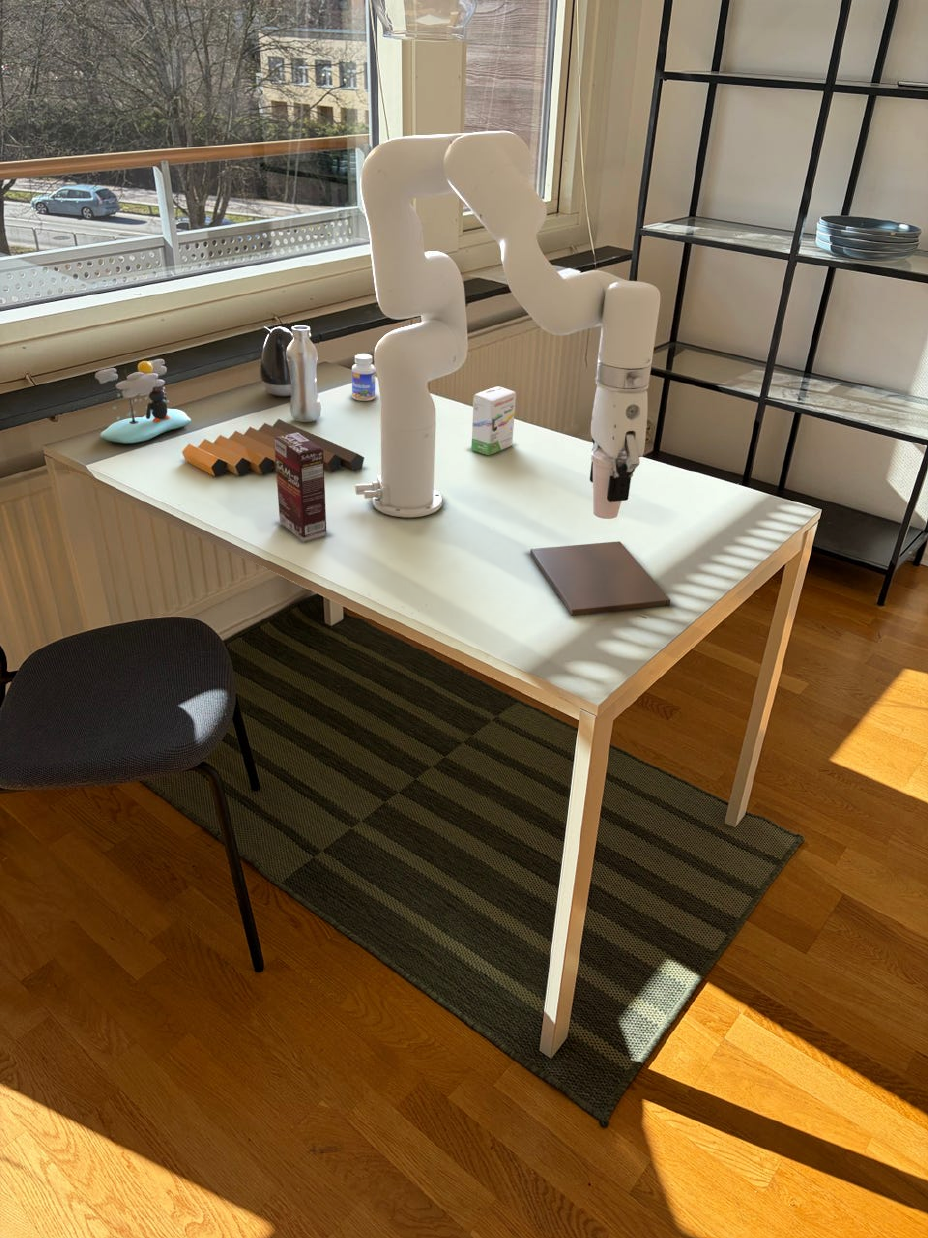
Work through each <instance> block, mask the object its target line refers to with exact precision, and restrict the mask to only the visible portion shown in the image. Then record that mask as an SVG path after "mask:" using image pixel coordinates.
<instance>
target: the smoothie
mask: <svg viewBox="0 0 928 1238" xmlns="http://www.w3.org/2000/svg"><path fill="white" fill-rule="evenodd" d="M590 455H591V456H590V462H591V463H592V462H593V483H592V506H593V507H592V511H593V515H594V516H595V517H597V518H600V519H606V520H610V519H615V518H617V517H618V515H619V510H620V506H621V503H622V501H616V502H609V501H608V500H607V494H608V487H609V479H610V476H612V475H613V470H612V457H611V456H610V455H608V454H607V453H606V452H605V451H604V450H603V449H602V448H597V449H595V450H593V451H592V450H591V454H590ZM618 455H619V456H620V455H626V451H620V452H619V454H618ZM625 463H626V459H624V460H619V467H620V466H621V465H622V464H625Z"/></svg>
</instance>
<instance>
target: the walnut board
mask: <svg viewBox="0 0 928 1238" xmlns="http://www.w3.org/2000/svg"><path fill="white" fill-rule="evenodd" d="M529 555H530V556H531V558H532V559H533V561H534V562H535V564H536V565H537V567H538V568H539V569H540V571H541V573H542V574H543V575H544V577H545V578H546V580H547V582H548V583H549V584H550V586H551V587H552V589H553V590H554V592H555V593H556V595H557V597H558V598H559V600H560V601H561V602H562V603H563V605H564V606H565V608H566V609H567V611H568V612H569V614H570V615H571V616H581V615H591V614H598V613H610V612H618V611H627V610H628V611H629V610H638V609H647V608H656V607H657V608H658V607H665V606H667V607H668V606H670V605H671V598H670V597H669V596H668V595H667V594H666V593H665V592H664V591H663V590H662V588H661V587H660V586H659V585H658V584H657V583H656V581H655V580H654V578H652V577H651V576H650V574H649V573H648V572H647V571H646V570H645V569H644V567H642V565H641V563H640V562H639V561H637V559H636V558H635V557H634V556H633V555H632V554H631V552H630V551H629V550H628V549H627V548H626V546H625V545H624V544H623V543H622V542H621V541H619V540H618V541H608V542H595V543H585V544H575V545H572V544H571V545H563V546H562V545H561V546H551V547H550V546H549V547H542V548H541V547H540V548H531V549H530V554H529Z"/></svg>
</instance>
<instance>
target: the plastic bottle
mask: <svg viewBox="0 0 928 1238" xmlns="http://www.w3.org/2000/svg"><path fill="white" fill-rule="evenodd" d="M291 334H292V337H293V340H292V341H291V343H290V344H289V346H288V348H287V351H286V356H287V361H288V366H289V371H290V378H291V396H290V401H289V413H290V417H292V419H293V420H295V421H297V422H302V423H309V422H310V423H311V422H315V421H317V420H319V418H320V416H321V411H322V407H321V402H320V399H319V392H318V391H319V390H318V384H317V368H318V358H319V357H318V355H319V354H318V350H317V348H316V346H315V344H314V343H313V342H312V340H311V339H310V338H311V337H312V334H311V327H310V326H308V325H294V326H291Z"/></svg>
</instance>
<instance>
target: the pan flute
mask: <svg viewBox="0 0 928 1238" xmlns="http://www.w3.org/2000/svg"><path fill="white" fill-rule="evenodd" d="M296 432H298V433H299V434H300V435H302V436H303V437H305V438H306V439H308V440H309V441H311V442H312V443H314V444H315V445H317V446H318V447H321V448H322V449H323V458H324V471H327V472H330V473H333V472H336V471H339V470H341V467H343V468H345V469H348V470H350V471H351V472H356V471H359V470H362V469H363V467H364V466H363V465H364V461H365V457H364V456H362V455H361V454H359V453H358V452H355V451H353V450H350V449H348V448H345V447H344V446H341V445H339V444H336V443H334V442H333V441H330V440H327V439H325V438H323V437H320V436H318V435H316V434H315V433H311V432H310V431H307V430H305V429H302V428H301V427H298V426H296V425H294V424H291V423H289V422H286V421H285V420H282V419H280V418H278V419H276V421H275V422H274V424H273V425H271V424H268V423H266V422H263V424H262V425H261V426H260V427H259V428H258V429H256V428H254V427H251V426H249V427H248V429H246V430H245V432H244V433H242V432H239V431H237V430H235V431H233V433H232V434H231V435H230V436H229V437H226V436H224V435H222V434H219V436H217V438H216V439H215V441H213V442H212V441H210V440H208V439H205V438H204V440H202V442H200V444H199V445H198V446H195V445H194V444H191V443H188V444H187V445H186V446H185V447H184V448H183V450H182V451H181V453H182V456H183V459H184V460H185V462H186V463H188V464H191V465H193V466H194V467H196V468H198V469H200V470H202V471H203V472H206V473H207V474H209V475H211V476H213V477H220V476H222V475H226V471H229V472H231V473H233V474H234V475H237V476H238V477H240V476H243V475H246V474H249V472H250V470H252V471H253V472H255V473H257V474H259V475H261V476H263V475H266V474H269V473H270V474H271V473H272V471H273V469H275V470H276V459H275V445H274V438H275V437H278V436H282V435H286V434H291V433H296Z"/></svg>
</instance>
